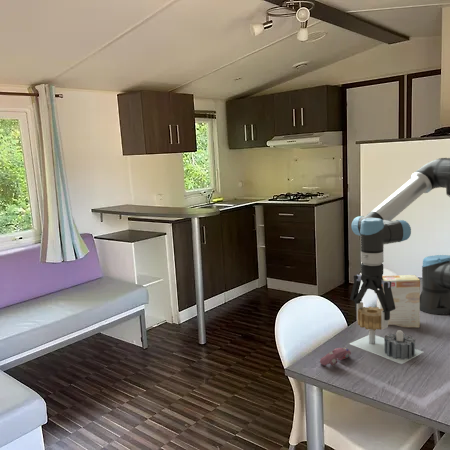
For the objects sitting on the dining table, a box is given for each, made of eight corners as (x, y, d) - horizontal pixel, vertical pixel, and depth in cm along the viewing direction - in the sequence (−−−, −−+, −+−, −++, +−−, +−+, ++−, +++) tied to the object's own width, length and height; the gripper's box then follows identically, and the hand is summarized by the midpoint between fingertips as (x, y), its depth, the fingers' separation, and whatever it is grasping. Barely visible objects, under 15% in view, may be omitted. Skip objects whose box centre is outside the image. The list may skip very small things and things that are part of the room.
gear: (395, 344, 161) (395, 330, 160) (420, 353, 153) (421, 339, 152) (378, 352, 155) (378, 338, 154) (404, 362, 148) (404, 347, 147)
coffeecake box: (414, 321, 184) (415, 274, 181) (420, 327, 177) (420, 279, 174) (376, 321, 186) (376, 275, 183) (380, 328, 179) (380, 280, 176)
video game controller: (326, 372, 150) (332, 358, 146) (317, 362, 153) (323, 348, 149) (348, 364, 155) (355, 350, 151) (340, 354, 158) (346, 340, 154)
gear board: (371, 337, 171) (371, 313, 169) (424, 356, 154) (424, 329, 153) (348, 347, 164) (348, 322, 162) (401, 368, 147) (402, 340, 145)
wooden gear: (369, 317, 169) (369, 304, 168) (392, 324, 161) (392, 311, 160) (352, 324, 163) (352, 311, 162) (375, 332, 155) (375, 318, 154)
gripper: (339, 259, 165) (340, 318, 169) (394, 271, 147) (393, 336, 151) (352, 256, 169) (353, 313, 173) (407, 266, 151) (406, 330, 155)
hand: (371, 324), depth 162 cm, fingers closed on wooden gear, 10 cm apart
